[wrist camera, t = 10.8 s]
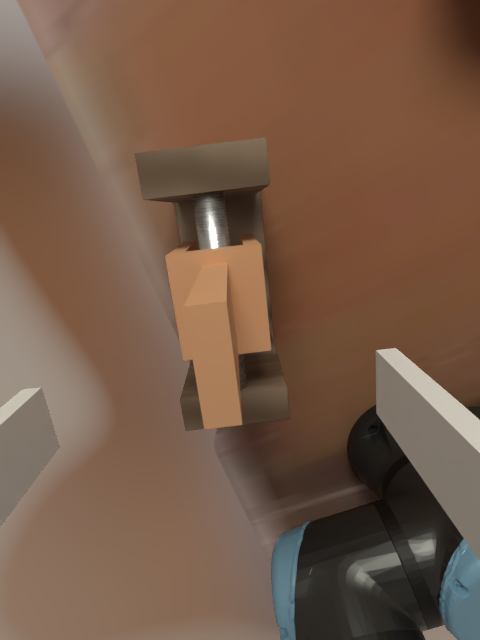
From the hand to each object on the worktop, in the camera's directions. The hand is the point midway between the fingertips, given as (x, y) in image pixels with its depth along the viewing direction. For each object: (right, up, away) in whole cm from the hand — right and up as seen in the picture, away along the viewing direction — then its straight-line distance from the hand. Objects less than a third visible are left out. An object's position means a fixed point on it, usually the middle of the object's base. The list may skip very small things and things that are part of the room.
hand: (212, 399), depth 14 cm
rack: (-1, +10, +31) cm, 33 cm away
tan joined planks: (-1, +8, +23) cm, 25 cm away
